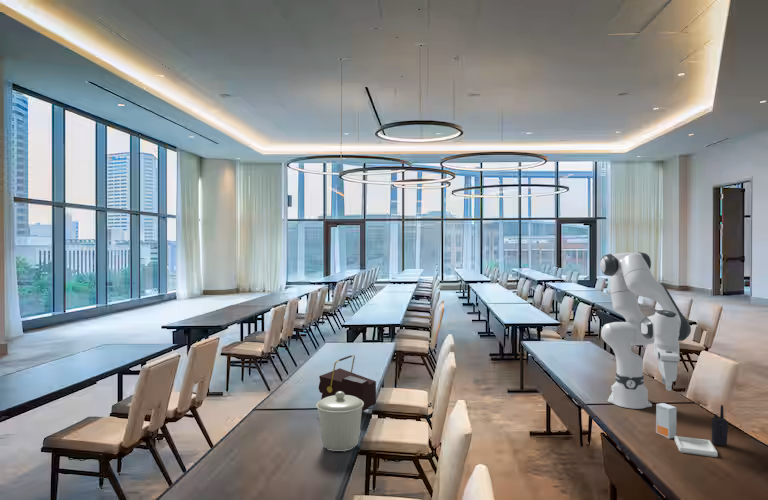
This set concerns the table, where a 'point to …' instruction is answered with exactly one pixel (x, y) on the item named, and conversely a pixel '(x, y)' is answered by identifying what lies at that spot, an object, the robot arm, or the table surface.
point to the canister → (340, 420)
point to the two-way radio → (719, 429)
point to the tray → (695, 446)
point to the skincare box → (666, 420)
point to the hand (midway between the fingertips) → (666, 386)
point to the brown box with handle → (348, 385)
